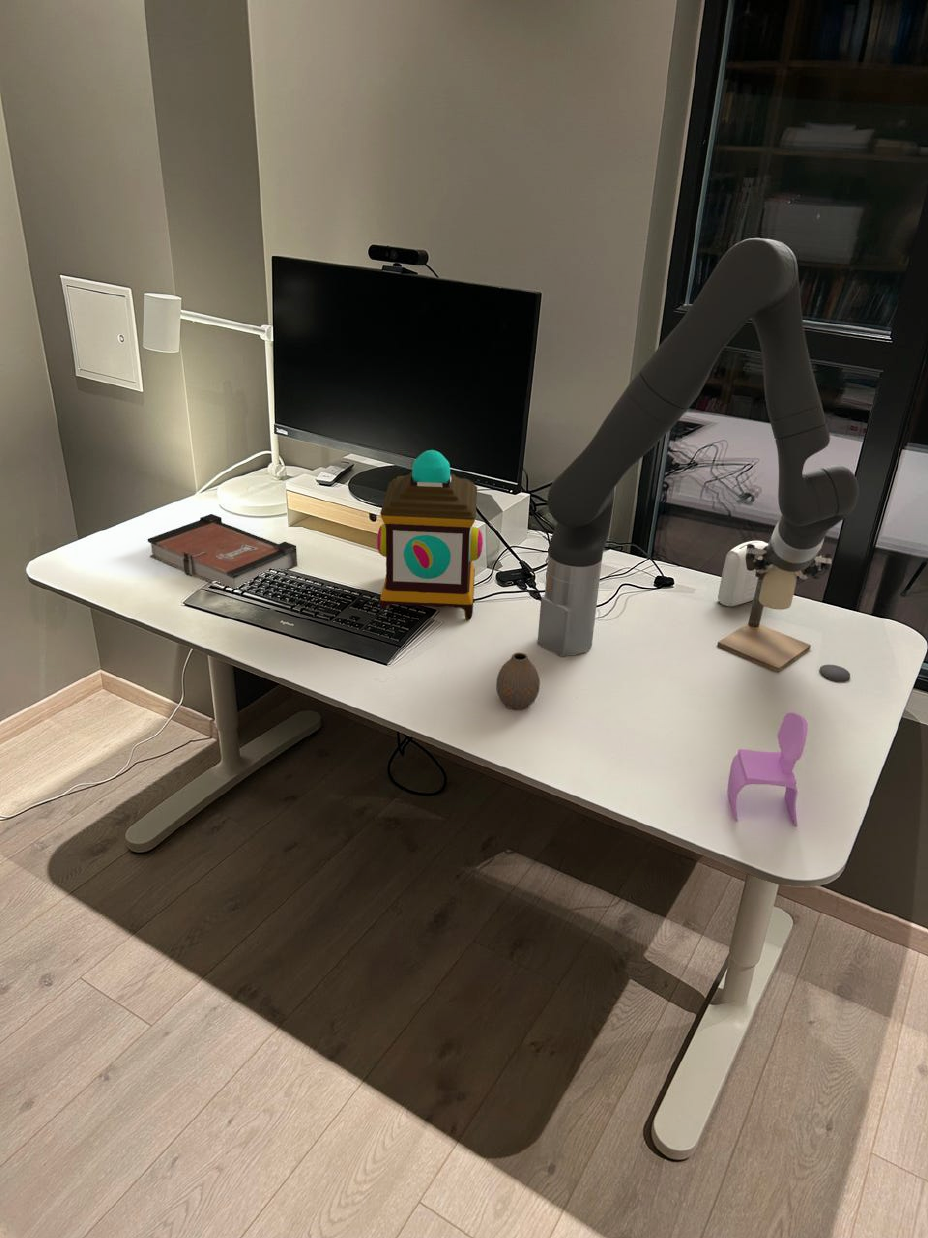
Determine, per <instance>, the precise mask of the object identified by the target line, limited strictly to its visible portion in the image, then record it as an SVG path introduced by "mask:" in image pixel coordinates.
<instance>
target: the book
mask: <svg viewBox="0 0 928 1238" xmlns="http://www.w3.org/2000/svg"><path fill="white" fill-rule="evenodd" d="M199 518H200V519H199V520H196V521H193V522H190V523H189V524H186V525H182V526H179V527H177V528H174V529H172V530H168V531H166V532H163V533H161V534H157V535H155V536H152V537H148V538H147V542H148V543H149V544H150V547H151V553H152V554H150V555H149V557H150V558H152V559H154V560H155V561H159V562H161V563H163V564H165V565H168V566H170V567H172V568H174V569H177V570H179V571H182V572H184V574H185V575H186V576H190V577H192V576H193V577H195V578H198V579H200V580H202V581H205V582H207V583H209V584H211V583H212V582H213V581H218V582H220V583H222V584H225V585H227V586H229V587H231V588H233V589H236V588H237V587H239V586H240V585H242V584H244V583H245V582H247V581H249V580H251V579H253V578H255V577H256V576H258V575H260V574H261V573H263V572H265V571H267V570H269V569H270V568H280V569H287V571H289V570H291V569H294V568H295V567H298V558H297V557H298V556H297V545H296V544H293V543H290V542H288V541H283V542H280V543H276V542H274V541H271V540H269V539H266V538H263V537H262V536H261V537H260V536H258V535H255V534H254V533H251V532H248V531H246V530H243V529H239V528H238V527H235V526H232V525H230V524H228V523H224V522H222V517H221V516H218V515H216V514H212V513H210V514H207V515H204V516H202V517H199Z"/></svg>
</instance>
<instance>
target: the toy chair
mask: <svg viewBox="0 0 928 1238" xmlns="http://www.w3.org/2000/svg"><path fill="white" fill-rule="evenodd" d="M808 724H809V723H808V721H807V719H806V718H805V717H803V716H802V715H800V714H798V713H795V712H791V711H788V712H787V713H785V715H784V717H783V719H782V722H781V725H780V728H779V731H778V733H777V736H776V737H777V740H778V744H779V748H780V750H781V751H780V752H779V751H777V752H776V751H760V750H752V749H742V748H739V749H738V751H737V754H735V756H734V757H733V758H732V761H731V764H730V770H729V773H728V774H729V775H728V779H727V780H728V782H727V794H728V799H729V803H730V807H731V810H732V814H733V819H734V821H735V822H738V821H739V820H738V813H737V798H738V796H739V795H738V794H739V793H740V792H741V791H742V789H743V788H745V787H746V786H749V785H761V786H762V785H765V786H767V785H769V786H778V787H784V788H785V792H784V799H785V802H786V805H787V807H788V810H789V814H790V817H791V820H792V822H793V825H794V826H795V827H798V820H797V809H796V807H797V806H796V803H797V796H798V789H797V779H796V776H795V775H794V774H795V773H794V772H793V770H794V768H795V765H796V763H797V761H799V760H800V759H801V757H802V756H803V753H804V749H805V746H806V742H807V738H808V737H807V736H808V731H809V730H808V729H809V728H808V727H809V725H808Z"/></svg>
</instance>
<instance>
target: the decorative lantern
mask: <svg viewBox="0 0 928 1238" xmlns="http://www.w3.org/2000/svg"><path fill="white" fill-rule="evenodd" d="M450 465H451V464H450V462H449V461H448V460H447V458H445V456H444V455H443V454H442V453H441V452H439V451H437V450H434V449H430V450H425V451H423V452H422V453H421V454H420V455H418V457H416V458H415V459H414V461H413V463H412V469H411V470H412V471H411V472H409V473H408V474H406V475H398V476H396V478H393V479H392V480H391V481H390V482H389V483H388V486H387V490H386V492H385V497H384V500H383V503H382V506H381V509H380V512H379V513H380V518H381V520H382V521H383V523H382V524H381V525H380V526H379V528H378V531H377V537H376V546H377V550H378V553H379V554H380V555H381V556H382V557H383V558H385V571H386V572H385V577H384V582H383V586H382V589H381V594H380V597H379V610H380V609H383V610H386V609H388V610H389V607H390V606H391V605H392V606H393V605H395V606H415V607H434V608H435V607H437V608H460V609H463V612H464V615H463V616H464V619H465V620H466V621H470V620H471V619H472V617H473V613H474V612H473V611H474V596H475V595H474V593H475V592H474V591H475V590H474V589H475V572H476V567H475V565H474V563H473V562H475V561H477V560H479V558H481V555H482V553H483V552H482V551H483V545H484V540H483V534H482V531H481V529H479V528H478V527H477V526H473V525H474V523H475V521H476V517H477V501H478V498H477V497H478V486H477V485H475V483H474V482H472V481H470V480H469V479H467V478H460V477H457V476H456V474H454V473H452V470H451V466H450Z"/></svg>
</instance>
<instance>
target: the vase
mask: <svg viewBox="0 0 928 1238" xmlns="http://www.w3.org/2000/svg"><path fill="white" fill-rule="evenodd" d="M540 685H541V681H540V675H539V672H538V670H537V668H536V667H535V666H534V664H533V663H532V662H531V660H530V659H529V657H528V654H526V653H524V652H514V653H513V654H512V656H511V657H510V659H508V660H507V661H506V662H505V663H504V664H503V665H502V666H501V668H500V669H499V672H498V674H497V677H496V684H495V686H496V693H497V697H498V698H499V700H500V702H501V703H502V704H503V705H505V706H506V707H507V708H509V709H511V710H523V709H526V708H529V706H531V705H532V704H533V703H534V702H535V701H536V699H537V697H538V695H539V693H540V687H541V686H540Z"/></svg>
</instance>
